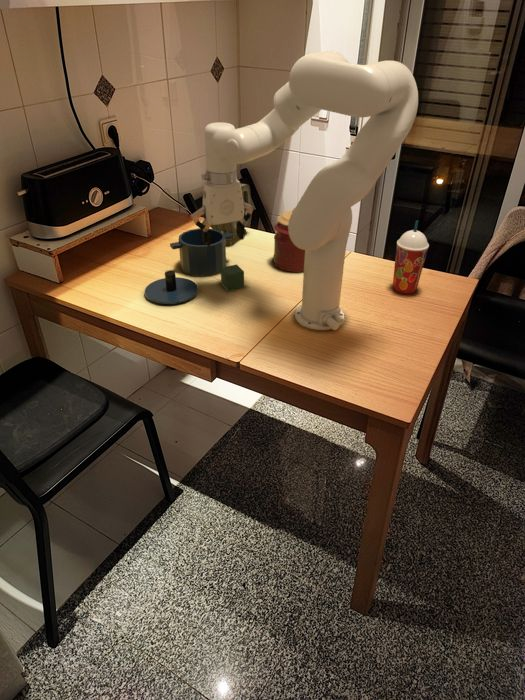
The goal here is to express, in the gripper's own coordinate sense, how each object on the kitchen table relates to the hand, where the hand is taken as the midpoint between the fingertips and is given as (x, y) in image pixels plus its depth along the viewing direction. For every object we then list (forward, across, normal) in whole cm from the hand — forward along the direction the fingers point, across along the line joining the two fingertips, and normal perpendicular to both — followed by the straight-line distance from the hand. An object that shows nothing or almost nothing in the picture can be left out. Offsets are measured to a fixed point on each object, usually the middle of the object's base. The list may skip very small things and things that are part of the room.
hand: (223, 240), depth 139 cm
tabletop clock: (+14, +15, +31) cm, 38 cm away
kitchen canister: (+14, +25, +4) cm, 29 cm away
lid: (+13, -15, +3) cm, 20 cm away
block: (+14, +2, 0) cm, 14 cm away
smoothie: (+14, +45, -24) cm, 53 cm away
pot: (+14, -1, +14) cm, 20 cm away
